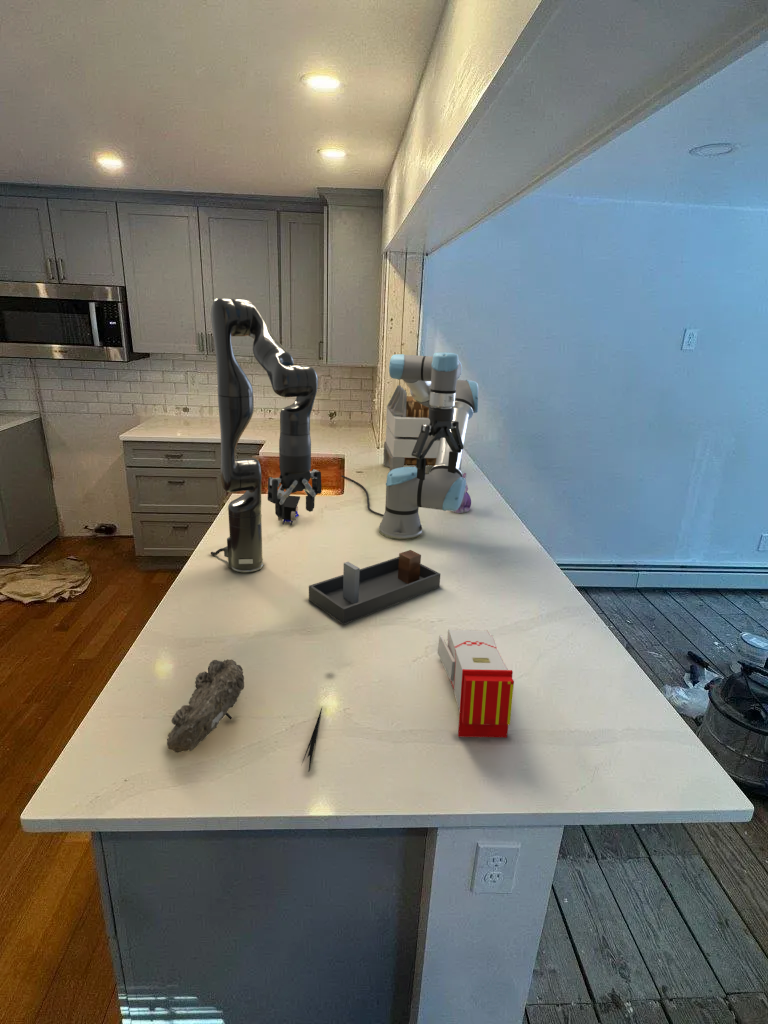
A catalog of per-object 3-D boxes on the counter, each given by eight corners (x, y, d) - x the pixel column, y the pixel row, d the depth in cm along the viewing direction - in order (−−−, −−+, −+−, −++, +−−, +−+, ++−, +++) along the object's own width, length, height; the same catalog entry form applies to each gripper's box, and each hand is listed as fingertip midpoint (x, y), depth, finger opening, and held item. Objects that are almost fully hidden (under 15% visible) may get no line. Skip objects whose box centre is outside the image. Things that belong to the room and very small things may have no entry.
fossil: (192, 660, 117) (244, 628, 112) (224, 691, 120) (276, 661, 115) (142, 746, 98) (202, 712, 93) (182, 779, 101) (242, 748, 96)
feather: (331, 679, 122) (336, 673, 122) (307, 777, 96) (313, 769, 95) (324, 675, 122) (329, 669, 121) (298, 772, 95) (304, 764, 95)
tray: (308, 599, 152) (308, 562, 149) (402, 567, 174) (405, 534, 170) (343, 624, 141) (344, 585, 138) (439, 587, 163) (442, 552, 159)
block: (408, 584, 162) (409, 558, 159) (397, 578, 165) (399, 553, 162) (419, 580, 165) (421, 554, 162) (408, 574, 168) (410, 549, 165)
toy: (488, 613, 130) (523, 677, 101) (484, 667, 133) (517, 744, 104) (435, 612, 130) (455, 676, 101) (432, 666, 133) (451, 743, 103)
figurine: (457, 515, 220) (461, 478, 215) (443, 507, 229) (446, 471, 224) (477, 512, 224) (481, 475, 219) (462, 504, 233) (466, 469, 228)
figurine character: (296, 530, 202) (301, 512, 215) (295, 511, 198) (300, 494, 212) (277, 530, 201) (283, 511, 215) (276, 511, 198) (282, 493, 211)
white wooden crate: (382, 463, 289) (386, 382, 275) (445, 464, 293) (451, 384, 279) (390, 482, 257) (394, 392, 243) (460, 483, 261) (468, 394, 247)
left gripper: (278, 458, 128) (278, 525, 134) (328, 450, 138) (327, 512, 143) (260, 451, 134) (262, 515, 139) (310, 443, 143) (310, 504, 148)
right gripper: (420, 412, 157) (415, 485, 165) (479, 405, 173) (472, 472, 180) (402, 407, 163) (398, 478, 170) (460, 401, 178) (454, 467, 186)
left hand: (295, 514), depth 141 cm, fingers open, 8 cm apart
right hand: (436, 475), depth 175 cm, fingers open, 13 cm apart
